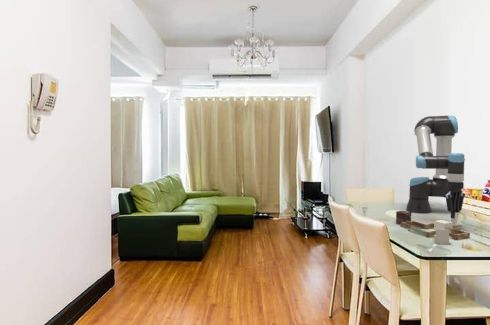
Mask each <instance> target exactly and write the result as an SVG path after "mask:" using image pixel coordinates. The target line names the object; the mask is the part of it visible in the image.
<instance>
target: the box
mask: <svg viewBox="0 0 490 325" xmlns="http://www.w3.org/2000/svg"><path fill="white" fill-rule="evenodd" d="M412 213H413V212H410V211H407V210H398V211H396V212H395V214H396V215H395V224H397V225H401V222H407V221H412Z"/></svg>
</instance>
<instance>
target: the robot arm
mask: <svg viewBox="0 0 490 325" xmlns="http://www.w3.org/2000/svg"><path fill="white" fill-rule="evenodd" d="M458 123H459V122H458V120H457V118H456V116H455V115H435V116H434V115H431V116H430V115H429V116H426V117H423V118H421V119H420V120H418V121H417V123H416V124H415V125H414V130H413V131H414V136H416V141H417V150H418V155H417V156H415V168H416V169H424V170H425V169H426V170H427V169H428V170H429V169H430V170H431V169H432V170H433V169H434V170H435V174H434V175H433V176H432V179H430V178H429V176H420V177H419V176H418V177H413V178H410V180H409V184H408V185H409V195H408V196H409V197H408V198H409V199H408V201H407V205H406V206H405V207H406V208H405V211H408V212H412V213H414V214H415V213H417V214H431V212H432V207H431V205H430V200H429V197H434V198H445V204H446V209H447V212H450V222H453V225H458V218H459V213H461V211H462V209H463V203H464V201H465V200H464V199H465V197H466V193H463V189H464V188H465V187H464V186H465V184H464V182H465V161H466V159H465V153H462V152H452V146H453V144H452V143H453V141H452V140H453V138H454V137H456V134H458V132H459V124H458ZM431 134H432V135H433V137H434V138H435V140H436V141H435V142H436V146H435V147H436V150H435V155H434V153H433V152H434V151H433V147H432V145H433V144H432V139H431Z"/></svg>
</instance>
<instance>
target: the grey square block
mask: <svg viewBox="0 0 490 325" xmlns="http://www.w3.org/2000/svg"><path fill="white" fill-rule="evenodd" d="M435 231H436V234H435V235H434V237H433V243H434V244H436V245H450V239H451V240H453V239H452V238H451V237H450V236H449V230H444V229H436V230H435Z"/></svg>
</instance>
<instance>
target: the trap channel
mask: <svg viewBox="0 0 490 325" xmlns="http://www.w3.org/2000/svg"><path fill="white" fill-rule="evenodd" d="M399 225H400V224H399ZM400 228H404V229H407V232H411V233H413V234H416V235H420V236H422V237H426V238H434V235H435V234H436V230H432V229H434V222H432V223H426V224H425V223H423V222H419V221H416V220H411V221H407V222H401V225H400ZM429 229H431V230H432V231H431V230H430V231H428V230H429ZM470 235H471V233H470V232H467V231H464V230H462V228H461V227H452V228H451V232H449V236H450V237H451V238H452V239H451V240H454V241H460V240H465V239H466V240H467V239H470V238H471V236H470Z"/></svg>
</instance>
